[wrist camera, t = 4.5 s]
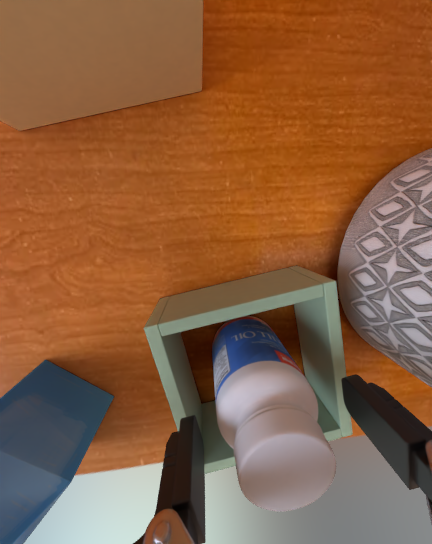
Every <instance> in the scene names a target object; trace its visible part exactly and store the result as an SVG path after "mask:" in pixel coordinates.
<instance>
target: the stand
mask: <svg viewBox="0 0 432 544" xmlns="http://www.w3.org/2000/svg"><path fill="white" fill-rule="evenodd" d="M202 56H203V0H0V121H2V122H3V123H5V124H7V125H9V126H11V127H13V128H15V129H17V130H18V131H22V130H27V129H31V128H36V127H40V126H45V125H49V124H54V123H58V122H63V121H68V120H72V119H77V118H81V117H86V116H90V115H95V114H99V113H104V112H108V111H113V110H118V109H122V108H127V107H131V106H136V105H140V104H145V103H149V102H154V101H159V100H163V99H168V98H172V97H177V96H181V95H186V94H190V93H195V92H199V91H202Z"/></svg>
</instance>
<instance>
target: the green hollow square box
mask: <svg viewBox="0 0 432 544" xmlns="http://www.w3.org/2000/svg"><path fill="white" fill-rule="evenodd" d="M292 304H294V309H295V316H296V322H297V328H298V335H299V341H300V347H301V354H302V360H303V366H304V373H305V378H306V379H307V381H308V383H309V384H310V386H311V387H312V389H313V391H314V393H315V396H316V399H317V403H318V420H317V423H318V424H319V426H320V427H321V429H322V432H323V434H324V436H325V438H326V439H327V441H332V440H335V439H339V438H341V436H342V437H345V436H349V435H352V434H353V433H352V424H351V415H350V414H349V412H348V410H347V409H346V406H345V404H344V399H343V390H342V382H341V379H342V378H344V377H346V368H345V359H344V349H343V340H342V331H341V321H340V312H339V303H338V293H337V284H336V281H335V280H333V279H330V278H327V277H325V276H322V275H320V274H317V273H315V272H312V271H310V270H307V269H305V268H302V267H300V266H297V265H296V266H292V267H289V268H284V269H280V270H276V271H272V272H267V273H263V274H259V275H255V276H251V277H247V278H243V279H239V280H235V281H230V282H226V283H222V284H218V285H214V286H210V287H206V288H202V289H197V290H193V291H189V292H185V293H181V294H177V295H173V296H168V297H164V298H160V300H159V302H158V303H157V305H156V307H155V309H154V311H153V312H152V314H151V316H150V318H149V320H148V321H147V323H146V325H145V327H144V330H145V333H146V336H147V339H148V342H149V345H150V348H151V351H152V354H153V357H154V360H155V363H156V366H157V369H158V372H159V375H160V378H161V381H162V384H163V387H164V390H165V393H166V396H167V399H168V402H169V405H170V408H171V411H172V414H173V417H174V420H175V423H176V426H177V429H178V431H179V428H180V420H181V418H184V417H188V416H192V415H195V416H196V419H197V422H198V425H199V428H200V432H201V435H202V439H203V444H204V473H205V474H207V473H210V472H214V471H218V470H222V469H225V468H229V467H233V466H236V462H235V458H234V449H233V448H232V447H230V446H229V444H228V443H227V442H226V441H225V439H224V438H223V436H222V434H221V432H220V430H219V426H218V422H217V414H216V403H215V401H211V402H207V403H203V404H201V401H200V397H199V394H198V391H197V387H196V384H195V380H194V377H193V373H192V370H191V367H190V363H189V360H188V356H187V353H186V350H185V346H184V343H183V339H182V336H181V333H180V332H183V331H187V330H191V329H195V328H199V327H203V326H207V325H211V324H215V323H219V322H223V321H227V320H231V319H235V318H239V317H243V316H247V315H251V314H255V313H260V312H264V311H268V310H272V309H276V308H280V307H284V306H288V305H292Z"/></svg>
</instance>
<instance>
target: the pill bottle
mask: <svg viewBox="0 0 432 544" xmlns="http://www.w3.org/2000/svg"><path fill="white" fill-rule="evenodd" d="M212 359H213V373H214V388H215V403H216V414H217V422H218V426H219V430H220V432H221V434H222V436H223V438H224V439H225V441H226V442H227V443H228V444H229V446H230V447H232V448H233V449H234V458H235V462H236V469H237V475H238V481H239V484H240V487H241V490H242V492H243V494H244V495H245V497H246V498H247V499H248V500H249V501H250V502H252V503H253V504H255V505H256V506H258V507H261V508H263V509H266V510H272V511H289V510H294V509H298V508H301V507H304V506H306V505H308V504H310V503H312V502H313V501H315V500H317V499H318V498H319V497H320V496H321V495H323V493H324V492H325V491H326V490H327V489H328V488H329V486H330V484H331V483H332V481H333V479H334V476H335V472H336V460H335V456H334V453H333V451H332V449H331V447H330V445H329V443H328V441H327V439H326V438H325V436H324V434H323V432H322V429H321V427H320V426H319V424H318V423H317V420H318V403H317V399H316V396H315V393H314V391H313V389H312V387H311V386H310V384H309V383H308V381H307V379H306V378H305V376H304V375H303V373H302V372H301V370H300V369H299V367H298V366H297V365H296V363H295V361H294V360H293V359H292V357H291V356H290V354H289V353H288V351H287V350H286V349H285V347H284V346H283V344H282V343H281V341H280V340H279V338H278V337H277V335H276V334H275V332H274V331H273V330H272V328H271V327H270V326H269V325H268V324H267V323H266V322H264V321H263V320H261V319H259V318H256V317H253V316H243V317H239V318H235V319H231V320H229V321H227V322H226V323H224V324H223V325H222V326H221V327H220V328H219V330H218V331H217V333H216V334H215V337H214V339H213V343H212Z"/></svg>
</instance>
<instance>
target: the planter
mask: <svg viewBox="0 0 432 544" xmlns="http://www.w3.org/2000/svg"><path fill="white" fill-rule="evenodd" d="M338 290H339V297H340V301H341V304H342V307H343V310H344V313H345V315H346V317H347V319H348V320H349V322H350V324H351V326H352V327H353V328H354V330H355V331H356V332H357V333H358V334H359V336H360V337H361V338H362V339H364V340H365V341H366V342H367V343H369V344H370V345H371V346H372V347H374V348H375V349H377V350H378V351H380V352H381V353H383V354H384V355H385V356H387V357H388V358H390V359H391V360H393V361H394V362H396V363H397V364H399V365H400V366H401V367H403V368H404V369H406V370H407V371H409V372H410V373H412V374H413V375H414V376H416V377H417V378H419V379H420V380H422V381H423V382H425V383H426V384H427V385H429V386H430V387H432V148H431V149H428V150H426V151H424V152H422V153H420V154H417V155H415V156H413V157H411V158H409V159H408V160H406V161H405V162H403V163H402V164H400V165H399V166H397V167H396V168H394V169H393V170H392V171H391V172H389V173H388V174H387V175H386V176H385V177H384V178H383V179H382V180H380V181H379V182H378V183H377V184H376V186H375V187H374V188H373V189H372V190H371V191H370V193H369V194H368V195H367V196H366V197H365V198H364V200H363V202H362V203H361V205H360V206H359V208H358V209H357V211H356V213H355V214H354V216H353V218H352V220H351V222H350V224H349V227H348V229H347V231H346V233H345V236H344V240H343V243H342V246H341V249H340V255H339V262H338Z"/></svg>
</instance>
